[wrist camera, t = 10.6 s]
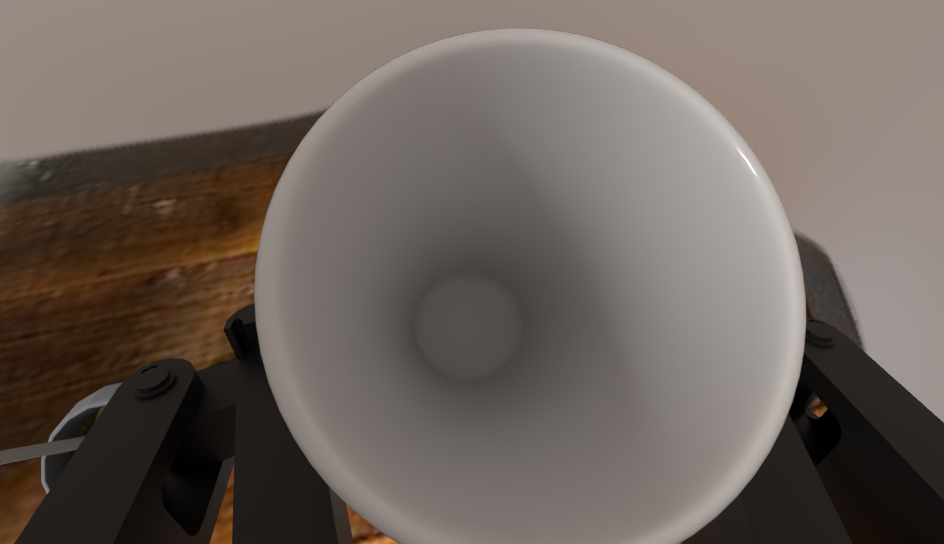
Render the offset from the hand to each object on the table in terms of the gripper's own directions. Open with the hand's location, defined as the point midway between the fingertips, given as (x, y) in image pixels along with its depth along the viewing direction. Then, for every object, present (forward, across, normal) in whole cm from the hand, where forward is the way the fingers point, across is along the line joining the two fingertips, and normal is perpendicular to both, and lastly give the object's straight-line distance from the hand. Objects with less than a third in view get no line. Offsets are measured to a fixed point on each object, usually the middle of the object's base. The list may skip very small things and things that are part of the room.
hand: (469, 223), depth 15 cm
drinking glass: (+1, 0, -6) cm, 7 cm away
